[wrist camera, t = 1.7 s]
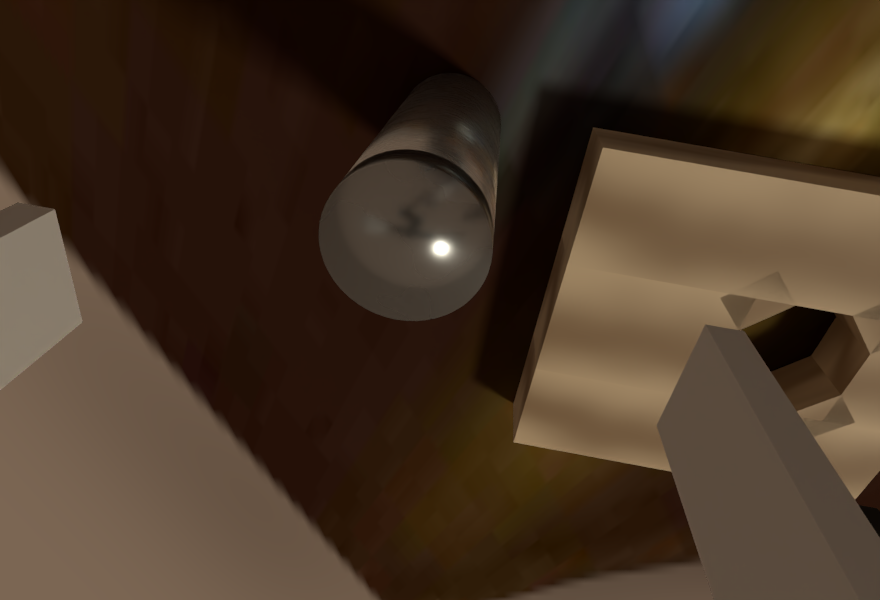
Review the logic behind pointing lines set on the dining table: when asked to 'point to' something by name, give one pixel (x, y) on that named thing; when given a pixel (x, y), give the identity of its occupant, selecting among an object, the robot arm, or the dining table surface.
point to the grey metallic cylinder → (419, 205)
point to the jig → (702, 296)
